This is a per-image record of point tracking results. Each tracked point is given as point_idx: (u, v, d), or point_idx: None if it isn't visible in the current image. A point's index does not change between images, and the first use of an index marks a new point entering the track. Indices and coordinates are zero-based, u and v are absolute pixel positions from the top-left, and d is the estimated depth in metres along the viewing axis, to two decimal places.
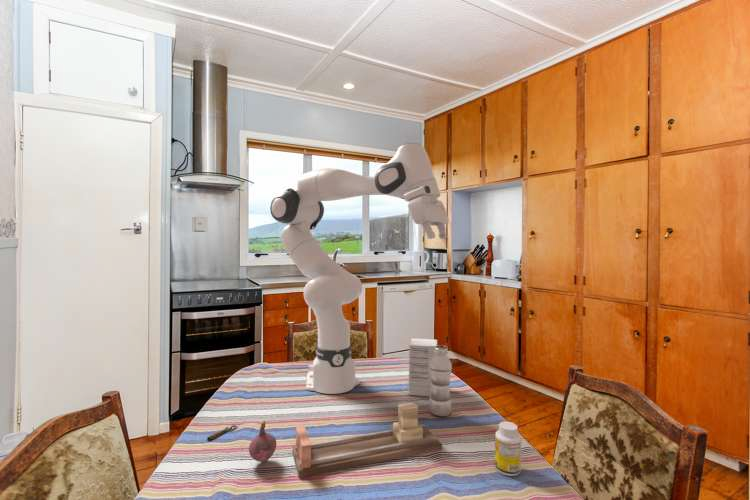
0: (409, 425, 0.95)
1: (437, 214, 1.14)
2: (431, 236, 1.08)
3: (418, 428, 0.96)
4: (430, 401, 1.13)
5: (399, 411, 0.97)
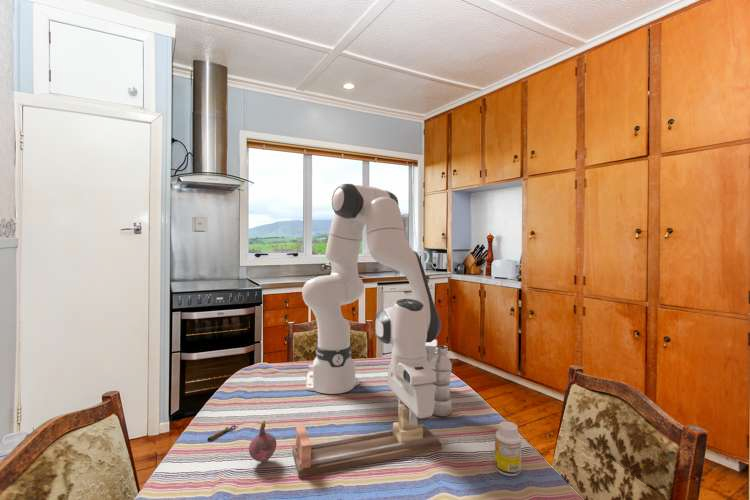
0: (409, 425, 0.95)
1: None
2: (413, 422, 0.94)
3: (418, 428, 0.96)
4: None
5: (399, 411, 0.97)
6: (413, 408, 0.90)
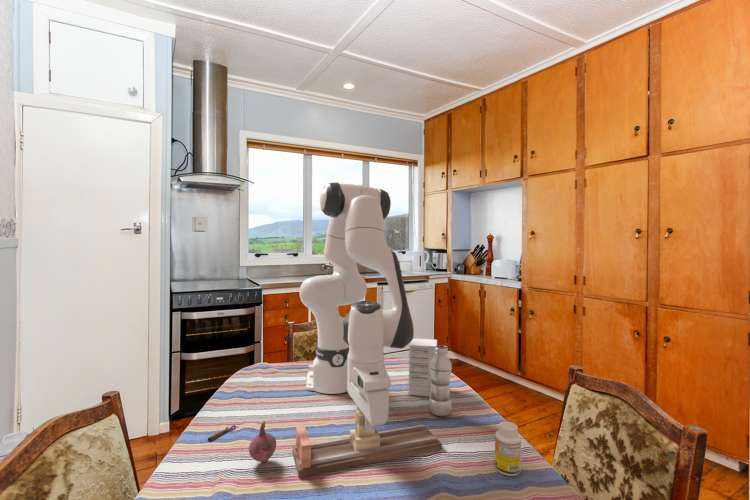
0: (365, 432, 0.91)
1: None
2: (370, 429, 0.90)
3: (375, 435, 0.92)
4: (430, 401, 1.13)
5: (356, 418, 0.93)
6: (367, 415, 0.86)
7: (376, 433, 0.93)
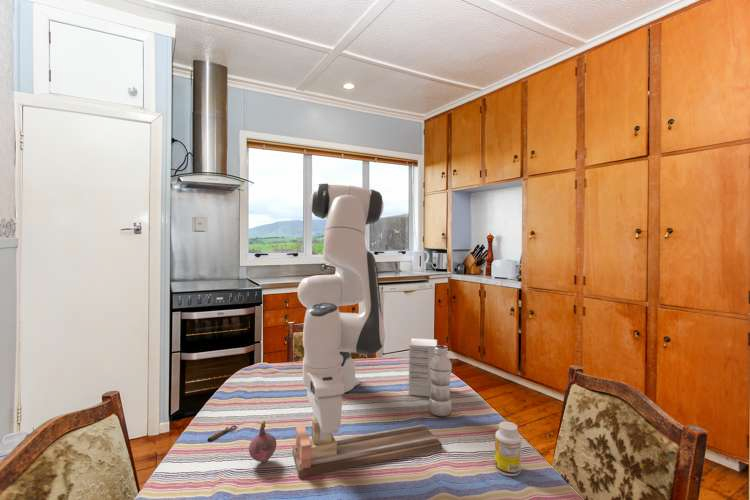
0: None
1: None
2: (325, 437, 0.87)
3: (331, 443, 0.88)
4: (430, 401, 1.13)
5: (312, 424, 0.89)
6: (319, 422, 0.82)
7: (333, 440, 0.89)
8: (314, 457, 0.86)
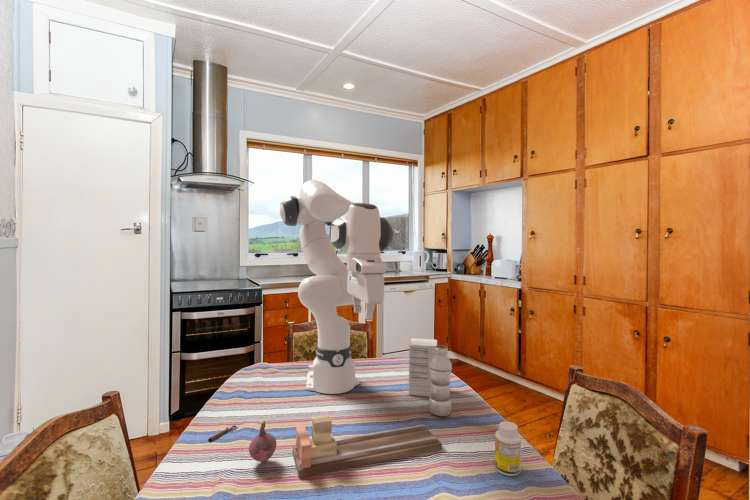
0: (321, 439, 0.88)
1: None
2: (370, 318, 0.97)
3: (331, 443, 0.88)
4: (430, 401, 1.13)
5: (312, 424, 0.89)
6: (364, 297, 0.95)
7: (333, 440, 0.89)
8: (314, 457, 0.86)
